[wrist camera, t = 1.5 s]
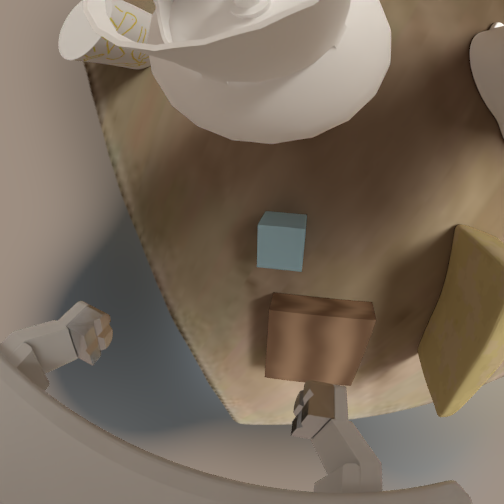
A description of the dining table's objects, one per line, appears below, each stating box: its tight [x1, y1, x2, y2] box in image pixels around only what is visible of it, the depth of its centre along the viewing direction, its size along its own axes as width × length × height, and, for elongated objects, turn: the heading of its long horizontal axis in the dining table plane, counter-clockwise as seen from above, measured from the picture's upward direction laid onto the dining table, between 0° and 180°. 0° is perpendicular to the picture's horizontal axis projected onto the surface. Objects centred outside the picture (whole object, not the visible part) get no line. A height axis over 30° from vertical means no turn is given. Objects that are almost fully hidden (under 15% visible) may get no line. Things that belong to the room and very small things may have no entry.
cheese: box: [418, 225, 504, 417], centre depth 25 cm, size 22×10×15 cm, turn 173°
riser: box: [265, 293, 376, 386], centre depth 38 cm, size 14×14×4 cm
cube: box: [257, 211, 307, 272], centre depth 31 cm, size 5×5×5 cm
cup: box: [59, 0, 152, 69], centre depth 20 cm, size 8×8×12 cm
